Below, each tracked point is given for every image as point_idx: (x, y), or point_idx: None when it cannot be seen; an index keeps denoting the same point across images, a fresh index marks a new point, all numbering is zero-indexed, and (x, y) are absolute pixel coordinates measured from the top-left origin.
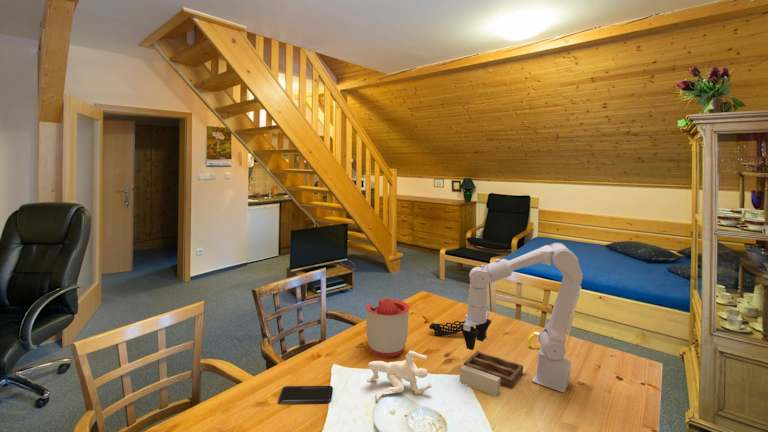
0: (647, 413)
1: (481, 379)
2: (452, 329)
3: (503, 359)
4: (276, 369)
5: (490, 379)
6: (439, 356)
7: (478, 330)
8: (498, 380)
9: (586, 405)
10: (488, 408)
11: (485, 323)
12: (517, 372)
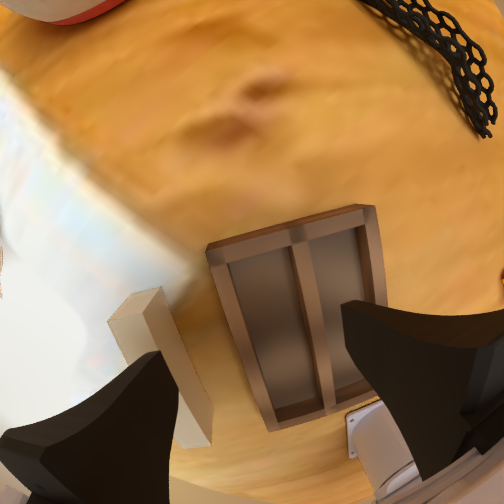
0: (372, 495)
1: None
2: (411, 20)
3: None
4: None
5: None
6: (221, 81)
7: (389, 351)
8: (192, 447)
9: (334, 481)
10: None
11: (432, 466)
12: (331, 413)
